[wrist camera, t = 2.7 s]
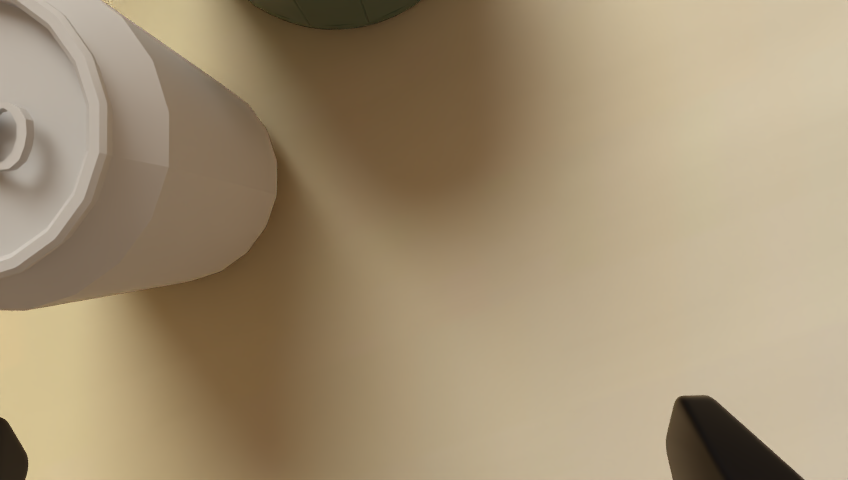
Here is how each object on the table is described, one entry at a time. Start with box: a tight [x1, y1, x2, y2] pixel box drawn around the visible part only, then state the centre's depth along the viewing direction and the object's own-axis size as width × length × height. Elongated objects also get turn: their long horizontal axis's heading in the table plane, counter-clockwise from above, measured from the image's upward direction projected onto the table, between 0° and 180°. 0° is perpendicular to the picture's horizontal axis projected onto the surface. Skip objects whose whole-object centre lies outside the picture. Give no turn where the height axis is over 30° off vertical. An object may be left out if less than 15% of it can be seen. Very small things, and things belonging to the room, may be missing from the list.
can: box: [0, 0, 277, 311], centre depth 19 cm, size 8×8×12 cm
